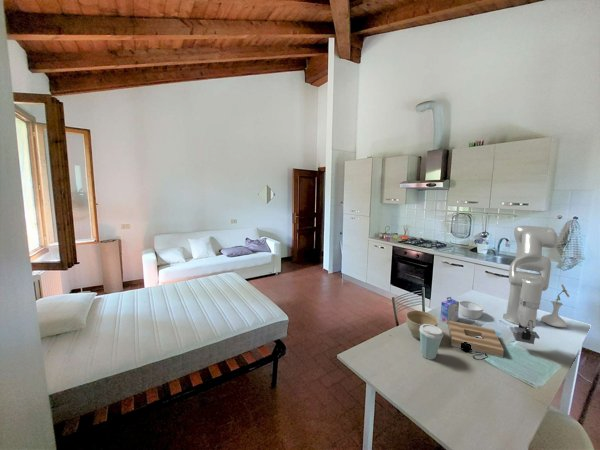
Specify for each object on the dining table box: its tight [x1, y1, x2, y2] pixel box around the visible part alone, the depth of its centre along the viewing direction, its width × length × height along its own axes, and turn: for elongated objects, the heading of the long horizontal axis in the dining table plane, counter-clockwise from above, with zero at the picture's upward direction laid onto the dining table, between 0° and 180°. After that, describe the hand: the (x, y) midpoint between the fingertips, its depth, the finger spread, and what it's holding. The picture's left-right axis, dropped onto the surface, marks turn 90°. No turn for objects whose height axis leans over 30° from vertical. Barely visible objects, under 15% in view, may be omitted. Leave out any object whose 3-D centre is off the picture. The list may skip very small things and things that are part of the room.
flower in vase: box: [540, 284, 570, 328], centre depth 157 cm, size 13×11×25 cm
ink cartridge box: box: [439, 296, 460, 324], centre depth 161 cm, size 10×6×14 cm, turn 115°
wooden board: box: [447, 321, 505, 359], centre depth 141 cm, size 20×22×4 cm
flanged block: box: [509, 326, 540, 345], centre depth 132 cm, size 5×10×5 cm, turn 65°
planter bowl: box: [405, 310, 439, 340], centre depth 145 cm, size 16×16×11 cm
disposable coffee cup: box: [419, 324, 444, 360], centre depth 128 cm, size 11×11×15 cm
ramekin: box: [458, 300, 484, 320], centre depth 168 cm, size 13×13×7 cm
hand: (523, 335), depth 132 cm, fingers closed on flanged block, 5 cm apart
